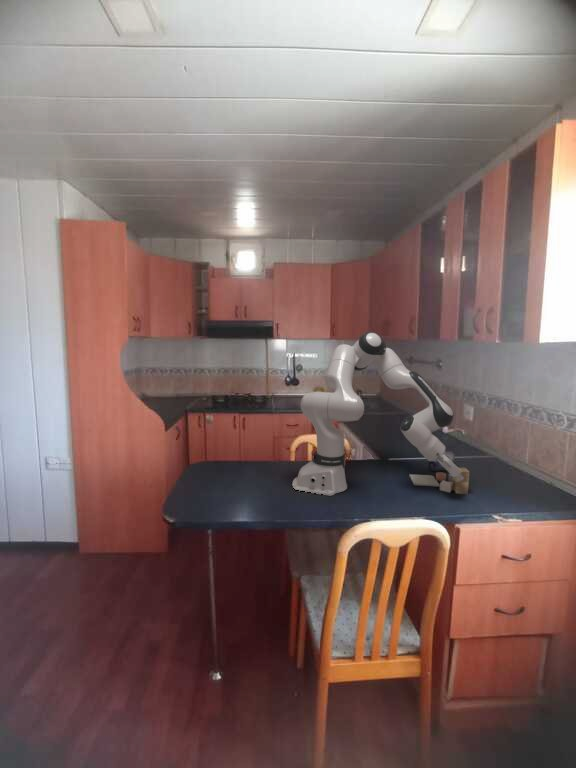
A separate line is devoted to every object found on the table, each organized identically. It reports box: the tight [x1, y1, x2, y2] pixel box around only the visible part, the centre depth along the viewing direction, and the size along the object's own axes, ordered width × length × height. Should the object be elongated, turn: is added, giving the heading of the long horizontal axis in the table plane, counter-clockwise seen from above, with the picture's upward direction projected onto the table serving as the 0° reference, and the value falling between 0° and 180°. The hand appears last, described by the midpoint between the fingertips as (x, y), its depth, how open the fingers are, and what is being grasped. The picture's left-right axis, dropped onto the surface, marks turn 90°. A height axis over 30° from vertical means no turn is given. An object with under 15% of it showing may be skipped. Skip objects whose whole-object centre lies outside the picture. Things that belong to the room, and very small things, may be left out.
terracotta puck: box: [435, 471, 447, 483], centre depth 158 cm, size 4×4×3 cm
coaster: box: [409, 473, 440, 487], centre depth 157 cm, size 10×10×1 cm
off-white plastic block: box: [439, 480, 454, 493], centre depth 148 cm, size 4×4×3 cm
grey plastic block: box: [447, 473, 453, 483], centre depth 156 cm, size 4×4×3 cm
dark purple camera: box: [427, 446, 456, 474], centre depth 169 cm, size 11×6×10 cm, turn 76°
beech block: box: [452, 467, 470, 495], centre depth 146 cm, size 4×4×9 cm
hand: (456, 474), depth 147 cm, fingers open, 8 cm apart
